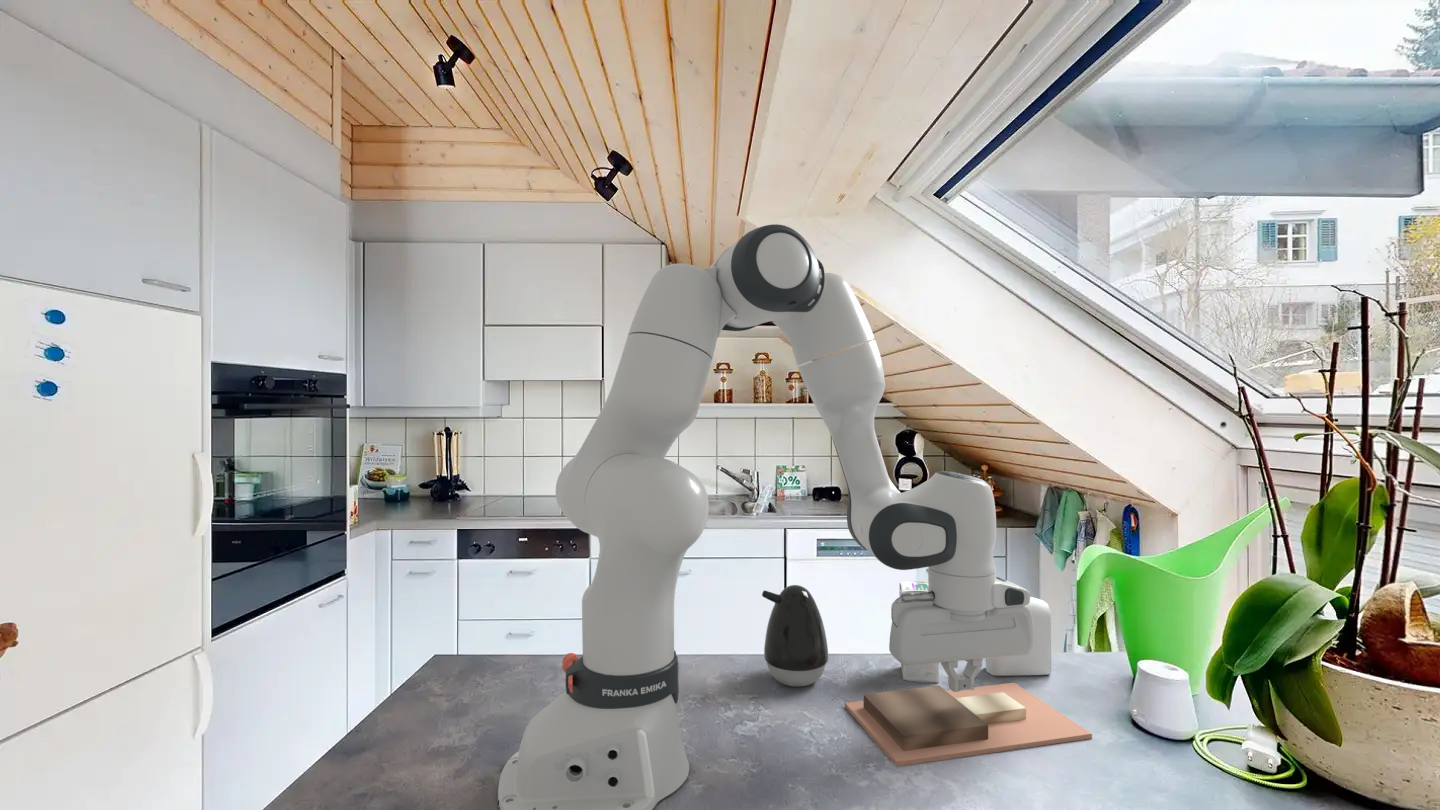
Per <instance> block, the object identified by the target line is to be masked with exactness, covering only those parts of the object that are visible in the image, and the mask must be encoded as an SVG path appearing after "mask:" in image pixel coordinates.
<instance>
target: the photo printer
mask: <svg viewBox="0 0 1440 810" xmlns="http://www.w3.org/2000/svg"><path fill="white" fill-rule="evenodd" d="M1026 606H1027V607H1028V608H1029V609H1030V611H1031V614H1032V619H1033V647H1032V649H1031V650H1030V652H1029V653H1028V654H1027V655H1017V656H1006V657H995V658H985V670H986V672H987V673H988V674H989V675H991V676H1003V677H1004V676H1007V677H1009V676H1011V677H1012V676H1043V675H1046V676H1047V675H1051V674H1052V625H1051V624H1052V621H1051V620H1052V617H1051V616H1052V615H1051V610H1050V606H1049V604H1048V602H1046V601H1044V600H1043V599H1039V598H1037V597H1033V596H1030V603H1029V604H1028V605H1026Z"/></svg>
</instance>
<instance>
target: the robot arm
mask: <svg viewBox="0 0 1440 810" xmlns="http://www.w3.org/2000/svg"><path fill="white" fill-rule="evenodd" d="M768 322H772V323H773V324H774V325H775V326H777V327H778V328H779V330H780V331H782V333H783V334H784V335H785V337H786V339H787V340H788V342H789V344H790V346H791V349H792V352H793V356H794V358H795V362H796V365H797V366H798V367H797V368H798V371H799V375H800V376H801V379H802V381H803V383H804V386H805V388H806V390H807V393H808V395H809V397H810V398H811V400H812V402H813V404H814V406H815V408H816V409H817V411H818V414H819V415H820V417H821V418H822V420H823V422H824V424H825V426H826V428H827V430H828V432H829V433H830V436H831V439H832V441H833V444H834V445H833V446H834V448H835V451H836V455H837V457H838V461H839V463H840V466H841V470H842V473H843V476H844V478H845V483H846V485H847V492H848V495H847V497H848V499H847V500H848V501H847V508H846V509H847V511H846V522H847V527H848V528H847V529H848V530H849V531H848V532H849V534H850V536H851V537H852V539H853V540H854V542H856V543H857V544H858V545H859V547H861V548H862V549H865V550H866V551H867V552H868V553H869V554H871V555H872V556H873V557H874V558H875V559H876V560H878V561H879V562H880V563H882V565H884V566H886V567H888V568H891V569H894V570H899V571H908V570H909V571H910V570H917V569H924V568H927V569H928V570H927V571H928V572H927V573H928V578H927V582H928V592H920V593H913V594H911V593H905V594H902V595H901V597H897V598H895V600H894V601H893V602H892V603H891V607H890V608H891V609H890V611H891V613H890V615H891V624H890V625H891V626H890V634H889V642H888V643H889V645H888V648H889V649H888V650H889V652H890V654H891V656H893V658H894V659H896V661H897V662H899V663H900V665H901V664H903V665H916V664H927V663H939V664H940V665H941V666H942V667H943V670H944V672H945V674H946V675H947V679H948V681H947V683H948V685H947V686H948V689H949V690H952V691H953V692H959V691H969V690H974V687H975V679H976V677H977V675H978V674H979V672H980V670H981V669H982V667H983V659H986V658H995V657H1006V656H1017V655H1027V654H1028V653H1029V652H1030V650H1031V649H1032V647H1033V619H1032V614H1031V611H1030V609H1029V608H1028V607H1027V606H1026V605H1028V604H1029V603H1030V597H1031V592H1030V591H1029V590H1028V589H1027V588H1024V587H1022V586H1021V585H1018V584H1016V583H1014V582H1011V581H1009V580H1006V579H1003V578H1001V577H998V576H997V567H996V563H995V560H994V559H995V557H994V550H995V545H996V542H997V513H996V505H995V504H996V501H995V497H994V493H993V489H992V487H991V485H990V484H989V483H988V482H987V481H985V480H983V479H982V478H980V477H976V476H974V475H968V474H965V473H960V472H955V471H947V470H946V471H945V470H940V471H936V472H934V474H933V475H932V476H931V477H930V478H928V479H927V480H926V481H924V482H922V483H920V484H918V485H917V486H914V487H913V488H911V489H908V490H906V491H903V492H901V491H900V490H899V489H898V488H897V487H896V486H895V484H894V483H893V482H892V480H891V478H890V476H889V474H888V470H887V468H886V464H885V460H884V458H883V455H882V450H881V448H880V445H879V442H878V437H877V435H876V434H877V433H876V429H875V416H876V413H877V412H876V411H877V408H878V405H879V403H880V401H881V399H882V398H883V395H884V393H885V389H886V380H885V372H884V367H883V365H884V364H883V360H882V356H881V353H880V350H879V347H878V345H877V341H876V339H875V336H874V332H873V331H872V327H871V325H870V323H869V320H868V318H867V317H866V314H865V311H864V310H863V307H862V306H861V303H860V302H859V300H858V298H857V296H856V294H855V293H854V291H853V290H852V287H851V286H850V284H849V282H847V280H846V279H845V278H844V277H842V276H841V275H839V274H837V273H832V272H831V273H830V272H826V271H825V267H824V265H823V263H822V261H820V260H819V259H818V258H817V256H816V254H815V251H814V250H813V248H812V247H811V245H810V244H809V242H808V240H806V239H805V238H804V237H803V235H801V234H800V233H799V232H797V231H796V230H795V229H793V228H791V227H789V226H786V225H783V224H777V223H776V224H766V225H763V226H759V227H756V228H754V229H752V230H750V231H748V232H747V233H745V234H744V235H743V236H741V238H739V240H738V241H737V242H735V243H734V244H731V245H730V246H728V247H727V249H725V250H724V251H723V252H722V253H721V254H720V255H719V256H718V258H717V259H716V260H715V261H713V262H712V264H711V265H710V266H709V267H708V268H703V267H699V266H696V265H694V264H690V263H671V264H668V265H665V266H662V268H660V269H659V270H657V271H656V272H655V274H654V275H653V277H652V278H651V281H650V282H649V284H648V286H647V287H646V289H645V291H644V294H643V296H642V298H641V300H640V303H639V304H638V306H637V310H636V311H635V314H634V317H633V319H632V322H631V325H630V328H629V331H628V333H627V337H626V341H625V343H624V347H623V351H622V353H621V357H620V360H619V363H618V366H617V369H616V373H615V376H614V379H613V382H612V386H611V388H610V391H609V393H608V395H607V398H606V400H605V402H604V404H603V406H602V409H601V411H600V412H599V414H598V416H597V418H596V419H595V422H594V423H593V425H592V427H591V428H590V430H589V432H588V434H587V436H586V438H585V440H584V442H583V443H582V444H581V447H580V448H579V450H578V451H577V453H576V454H575V456H574V457H573V458H571V460H569V461H568V462H567V463H566V464H565V465H564V467H563V468H562V470H561V471H560V473H559V475H558V477H557V480H556V484H555V499H556V501H557V502H556V503H557V505H558V507H559V509H560V511H561V512H562V513H563V515H564V516H565V517H566V518H567V520H568V521H570V522H571V524H572V525H574V526H575V527H576V528H577V529H578V530H580V531H582V532H584V533H586V534H589V535H591V536H594V537H596V538H598V542H599V554H598V560H597V564H596V569H595V572H594V575H593V576H594V577H593V579H592V582H591V583H590V585H589V586H588V587H587V588H586V589H585V591H584V592H583V595H582V598H581V630H582V631H581V633H582V635H581V638H582V641H581V642H582V655H581V656H580V657H579V656H577V653H573V652H569V653H567V654H565V655H564V657H563V658H562V661H561V662H562V663H561V664H562V667H561V668H562V670H563V672H564V673H565V679H564V680H565V691H563V692H562V693H561V694H560V695H558V697H556V698H555V699H554V700H552V702H550V703H549V704H548V705H546V706H545V707H544V708H543V709H541V710H540V711H539V712H538V713H536V714H535V715H534V716H533V717H532V718H531V719H530V721H529V722H528V724H527V727H526V728H525V730H524V733H523V735H522V738H521V741H520V746H519V750H518V751H517V752H515V753H514V754H513V755H512V756H510V758H509V759H508V760H507V762H506V763H505V765H504V767H503V768H502V771H501V773H500V776H499V780H498V781H499V782H498V789H497V801H498V800H499V804H500V806H501V808H502V809H503V810H653V809H654V808H655V806H656V805H657V804H658V803H659V802H660V801H661V800H664V799H665V798H666V797H668V796H670V795H671V794H673V793H674V792H675V791H677V790H679V789H680V788H681V786H682V785H683V784H684V782H685V781H686V780H687V778H688V775H689V772H690V761H689V759H688V756H687V754H686V750H685V746H684V742H683V738H682V732H681V727H680V719H679V713H678V702H679V693H680V663H679V659H678V656H677V653H676V652H677V651H676V650H675V594H676V587H677V581H678V578H679V575H680V570H681V566H682V563H683V561H684V558H685V555H686V553H687V551H688V549H690V548H691V546H693V545H694V544H695V543H696V542H697V541H698V540H699V538H700V537H701V535H702V534H703V532H704V529H705V527H706V526H707V523H708V522H707V521H708V518H709V513H710V512H709V511H710V502H709V496H708V492H707V490H706V488H705V485H704V483H703V482H702V481H701V479H700V478H699V477H698V476H697V475H695V474H694V473H693V472H692V471H690V470H688V469H686V468H685V467H683V466H682V465H679V464H678V463H676V462H674V461H672V460H669V459H667V458H665V457H666V456H667V454H668V452H669V450H670V449H671V447H672V446H673V444H674V442H675V441H676V440H677V439H678V437H679V436H680V435H681V434H682V433H683V432H684V431H685V430H686V429H688V428H689V427H690V426H691V425H692V423H694V421H695V420H696V417H697V415H698V412H699V408H700V405H701V402H702V398H703V395H704V391H705V387H706V383H707V381H708V377H709V373H710V369H711V365H712V363H713V358H714V355H715V350H716V345H717V341H718V338H719V337H720V335H721V333H722V331H726V332H727V331H729V332H742V331H743V332H744V331H747V330H750V329H753V328H756V327H757V326H759V325H762V324H765V323H768ZM873 339H874V340H873ZM900 600H902V601H900ZM960 661H965V662H966V665H965V667H964V669H963V672H962V673H958V674H957V672H956V670H955V669H958V667H959V666H958V665H959V662H960ZM515 762H517V764H513V763H515ZM509 801H513V802H511V803H507V802H509Z"/></svg>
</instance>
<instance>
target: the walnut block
mask: <svg viewBox="0 0 1440 810" xmlns="http://www.w3.org/2000/svg"><path fill="white" fill-rule="evenodd" d="M946 691H947V690H946V689H944V688H943V687H942V686H940V685H933V686H924V687H916V688H915V687H914V688H908V689H900V690H898V689H897V690H891V691H881V692H873V693H863V701H864V709H865V710H866V711H867V712H868V713H869V714H870V715H871V716H872V717H873V718H874V719H875V720H876V721H877V723H878V724H879V725H880V726H881V727H882V728H883V729H884V730H885V731H886V732H887V733H888V734H889V736H890V737H891V738H892V739H893V740H894V741H895V742H896V743H897V744H898V745H899V746H900V747H901V748H902V750H903V751H908V750H915V749H922V748H929V747H937V746H944V745H951V744H958V743H965V742H972V741H979V740H987V739H988V724H987V723H985V722H984V721H983V720H982V719H980V718H979V717H978V716H977V715H975V714H974V713H973V712H972V711H970V710H969V709H968V708H967V707H965V706H964V705H963V704H962V703H960V702H959V701H958V700H957V699H955V698H954V697H953V696H952V695H950V694H949V693H948V692H946Z"/></svg>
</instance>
